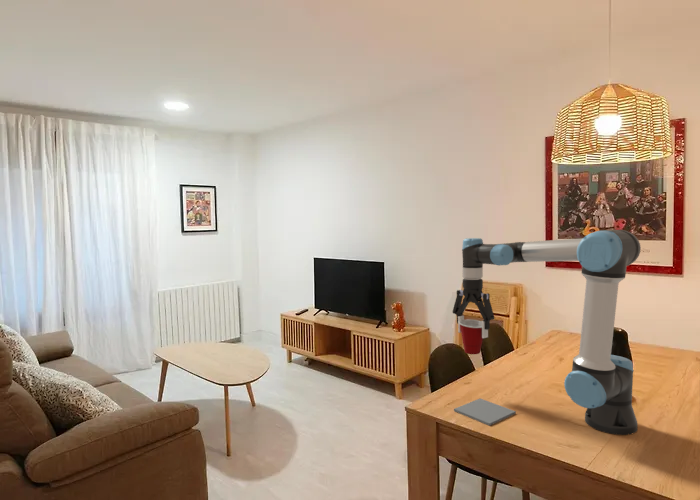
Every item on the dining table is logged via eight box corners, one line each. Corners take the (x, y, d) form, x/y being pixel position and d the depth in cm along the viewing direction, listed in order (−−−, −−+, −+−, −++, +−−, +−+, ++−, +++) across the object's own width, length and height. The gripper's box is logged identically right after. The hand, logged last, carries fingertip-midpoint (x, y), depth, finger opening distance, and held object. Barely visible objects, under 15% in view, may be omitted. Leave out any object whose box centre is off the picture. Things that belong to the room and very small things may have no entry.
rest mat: (515, 413, 162) (515, 411, 162) (489, 425, 153) (489, 423, 153) (480, 400, 174) (480, 398, 174) (453, 411, 165) (453, 408, 165)
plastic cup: (479, 358, 172) (479, 326, 171) (453, 353, 179) (453, 322, 178) (492, 351, 180) (492, 321, 180) (466, 347, 187) (466, 317, 187)
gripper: (504, 280, 171) (504, 338, 172) (455, 274, 189) (455, 328, 191) (492, 282, 166) (492, 342, 168) (443, 276, 185) (443, 331, 186)
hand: (472, 334), depth 179 cm, fingers closed on plastic cup, 11 cm apart
